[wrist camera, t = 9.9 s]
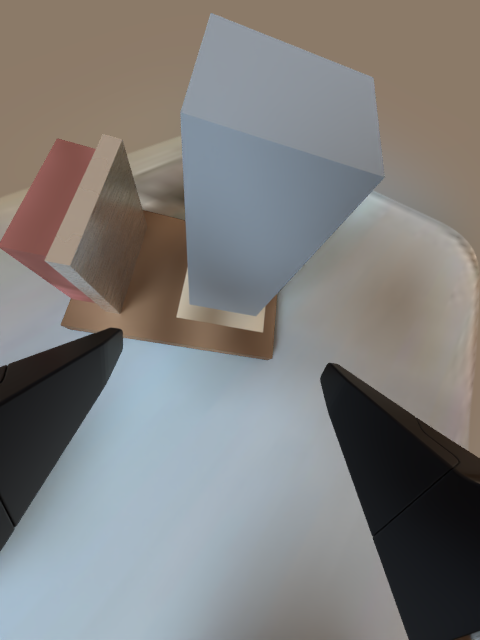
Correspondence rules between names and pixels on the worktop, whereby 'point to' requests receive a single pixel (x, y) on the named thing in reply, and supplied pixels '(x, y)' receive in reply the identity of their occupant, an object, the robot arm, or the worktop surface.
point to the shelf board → (120, 256)
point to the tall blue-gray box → (269, 162)
